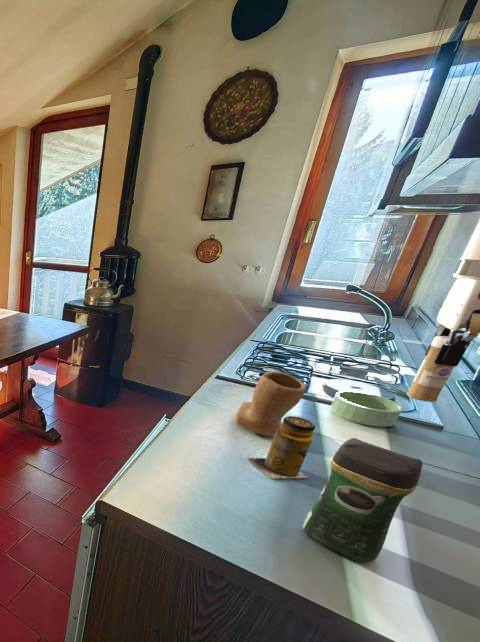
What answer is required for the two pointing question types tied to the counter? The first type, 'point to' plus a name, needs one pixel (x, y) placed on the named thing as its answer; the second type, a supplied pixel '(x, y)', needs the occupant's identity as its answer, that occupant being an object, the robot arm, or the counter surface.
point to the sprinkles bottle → (430, 374)
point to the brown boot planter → (270, 403)
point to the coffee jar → (361, 499)
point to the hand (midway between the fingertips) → (440, 360)
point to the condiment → (287, 449)
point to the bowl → (365, 408)
